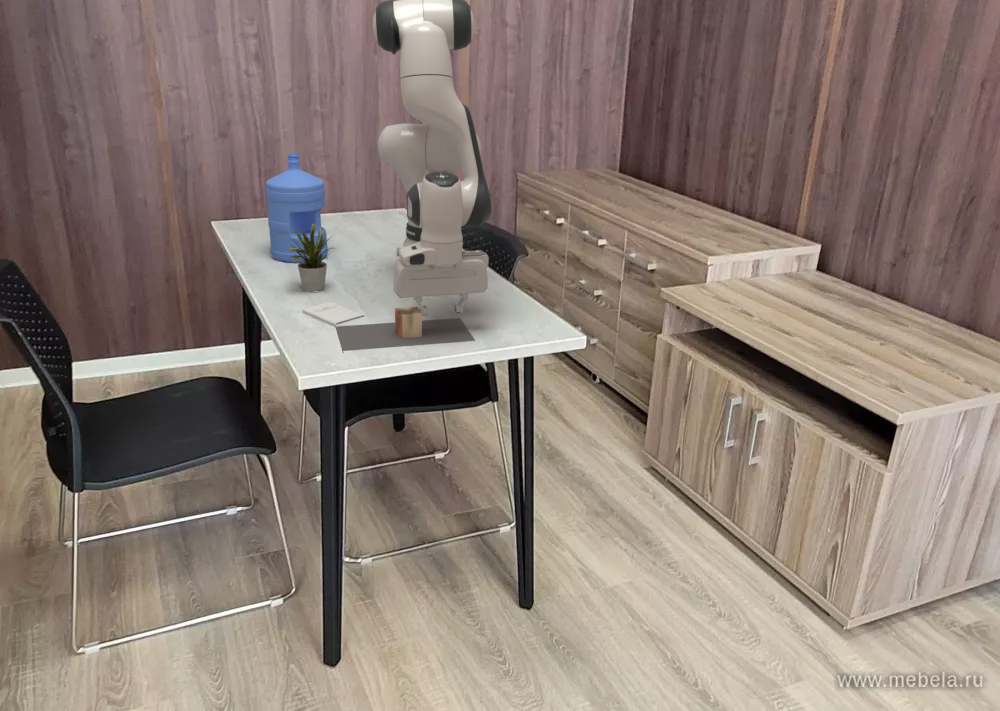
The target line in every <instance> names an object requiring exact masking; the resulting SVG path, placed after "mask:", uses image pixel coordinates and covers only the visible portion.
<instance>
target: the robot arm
mask: <svg viewBox="0 0 1000 711" xmlns="http://www.w3.org/2000/svg"><path fill="white" fill-rule="evenodd" d="M475 28H476V20H475V17H474V13H473V10H472V9H471V5H470V4H469V3H468V1H466V0H385V1H382V2H379V3H378V5H377V6H376V8H375V11H374V15H373V18H372V31H373V35H374V38H375V40H376V41H377V45H378V47H380V48H381V49H382V50H383V51H386V52H390V53H391V54H392V55H394V56H395V55H396V53H397V52H400V59H399V77H400V91H401V99H402V103H403V106H404V108H405V109H406V111H407V112H408V113H409V114H410V115H411V116H412V117H413V118H415V119H416V120H418V121H419V122H421V123H403V122H402V123H397V124H391V125H386V126H385V127H384V128H383V129H382V131H381V132H380V135H379V137H378V140H377V150H378V153H379V156H380V158H381V160H382V161H383V162H384V163H385V165H387V166H388V167H390V169H392V170H393V172H395V174H396V175H397V177H398V178H399V179H400V181H401V183H402V185H403V187H404V190H405V195H406V218H407V223H406V226H405V236H406V238H405V239H404V242H403V244H402V247H396V257H397V258H396V259H395V263H394V272H393V292H394V294H395V295H396V296H397V297H398V298H399V299H404V298H405V299H406V298H407V299H408V298H413V300H414V301H415V303H416V304H417V307H418V309H419V310H420V312H421V314H422V317H423V316H428V307H427V306H426V305H423V304H421V302H423V297H437V296H451V295H453V296H454V295H455V296H456V295H459V296H460V299H459V300H458V303H454V312H455V314H463V312H464V305H465V304H466V302H467V301H468V300H469V294H470V295H471V294H484V293H485V292H486V291H487V290H488V289H489V279H488V271H487V270H488V267H489V255H488V254H487V253H486V252H485V251H483V250H482V249H476V250H463V247H464V246H463V244H464V243H463V242H464V240H463V237H464V236H463V233H462V228H479V227H481V226H482V225H484V223H485V222H487V220H488V219H489V218H490V217H491V215H492V209H493V202H492V198H491V194H490V190H489V187H488V183H487V180H486V176H485V172H484V167H483V162H482V157H481V153H482V143H481V140H480V138H479V136H478V134H477V132H476V128H475V124H474V121H473V117H472V114H471V111H470V109H469V106H467V105H466V104H464V103H462V102H461V101H460V98H459V97H458V95H457V92H456V90H455V86H454V81H453V80H454V79H453V78H454V76H453V65H452V59H451V57H452V56H451V52H450V50H453V51H459V50H462V49H465V48H467V47H468V46H469V45H470V44H471V42H472V39H473V37H474V34H475V31H476V30H475ZM429 170H430V171H431V170H432V172H429ZM448 171H449V172H448ZM451 171H452V172H458V171H462V175H463V180H461V179H460V177H459V176H457V175H456V174H454V173H452V172H451ZM450 172H451V173H450ZM398 257H399V258H398Z"/></svg>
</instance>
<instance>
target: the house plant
mask: <svg viewBox="0 0 1000 711" xmlns="http://www.w3.org/2000/svg"><path fill="white" fill-rule="evenodd" d="M316 227H317V226H316ZM316 227H315V224H314V223H313V224H312V227H311V232H310V241H309V239H308V237H307V236H306V234H305V233H304V232H303V231H302V235H303V238H304V240H303V239H302V237H301V236H300V235H299V234H298V233H296V232H295V231H294V230H292V229H290V230H292V231H293V232H294V233H295V234H296V235H297V237H298V239H299V240H300V241H301V243H302V245H303V246H304V247H303V246H302V247H303V248H304V249H305V250H304V249H301V248H300V246H299V245H298V244H297V243H296V242H295V241H294V242H295V243H296V244H297V245H298V246H299V248H300V249H298V248H295V247H294V246H292V245H290V246H292V247H293V248H289V249H287V250H290V251H296V252H297V253H298V254H299V256H297V255H296V254H295V255H293V256H291V257H290V259H291V258H294V257H295V258H294V261H295V260H297V259H299V258H300V257H301V258H303V259H304V260H305V261H304V260H303V261H304V262H300V263H298V265H297V268H298V272H299V278H300V282H301V285H302V290H303V289H304V290H305V291H304V290H303V291H304V292H307V291H309V292H308V293H314V292H313V291H319V292H321V291H320V290H322V291H324V290H325V286H326V278H327V277H326V275H327V267H328V264H327V263H326V262H325V261H323V260H325V259H326V260H328V259H329V257H324V258H322V255H323V254H324V252H326V251H327V250H328V251H329V250H332V249H333V250H334V249H337V248H335V247H330V248H328V249H327V250H326V251H324V252H323V253H320V252H321V250H322V248H323V246H324V245H325V243H326V242H328V241H329V240H330V239H331V238H332V236H334V234H332V235H330V237H328V238H327V241H326V242H325V240H326V239H324V240H323V236H324V231H323V233H322V235H321V227H322V226H321V227H320V230H319V233H318V238H317V242H316V245H315V244H314V234H315V229H316ZM284 228H285V227H284ZM288 229H289V228H288ZM320 235H321V238H320ZM299 236H300V237H299ZM285 237H288V236H285ZM290 238H291V237H290ZM319 239H320V241H319ZM290 240H291V239H290ZM322 240H323V241H322ZM292 241H293V240H292ZM296 241H297V240H296ZM297 242H298V241H297ZM324 242H325V243H324ZM298 243H299V242H298ZM318 243H319V244H318ZM323 244H324V245H323ZM290 251H289V252H290ZM299 252H300V253H301V254H303V253H304V254H303V255H304V256H302V255H301V254H300V253H299ZM305 254H306V255H307V256H308V257H309V258H307V256H306V255H305ZM318 256H319V257H318ZM304 257H305V258H304ZM301 258H300V259H301ZM317 259H318V260H317ZM323 289H324V290H323ZM311 291H312V292H311Z"/></svg>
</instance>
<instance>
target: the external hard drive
mask: <svg viewBox="0 0 1000 711" xmlns="http://www.w3.org/2000/svg"><path fill="white" fill-rule="evenodd" d="M302 314H304V315H306V316H308V315H309V316H308V317H310V316H311V317H310V318H313V319H315V320H317V319H318V321H320V322H322V323H324V322H325V323H324V324H326V323H327V325H329V326H331V327H333V326H334V328H336V326H338V325H340V324H343V323H348V322H349V321H350V322H351V321H354V320H356V319H360V318H364V317H365V315H364V314H362V313H359V312H357V311H354V310H351V309H349V308H347V307H345V306H342V305H339V304H337V303H334V302H332V301H327V302H324V303H320V304H316V305H313V306H309V307H305V308H303V309H302Z"/></svg>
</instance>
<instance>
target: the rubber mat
mask: <svg viewBox="0 0 1000 711" xmlns="http://www.w3.org/2000/svg"><path fill="white" fill-rule="evenodd" d="M335 330H336V333H337V337H338V340H339V344H340V347H341V351H342V354H345V353H344V352H345V351H346V352H347V351H357V350H358V351H359V350H361V351H362V350H373V349H384V348H385V349H387V348H397V347H398V348H399V347H400V348H402V347H411V346H412V347H413V346H424V345H425V346H426V345H438V344H439V345H440V344H451V343H463V342H465V343H466V342H476V339H475V338H474V335H472V333H471V332H470V330H469V329H468V327H467V326H466V325H465V323H464V322H463V320H462V318H461V317H455V318H441V319H428V320H427V319H424V320H423V319H422V337H409V338H399V337H398V335H397V333H396V331H395V321H394V322H384V323H383V322H382V323H380V322H379V323H367V324H354V325H353V324H352V325H339V326H338V325H336V327H335Z"/></svg>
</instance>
